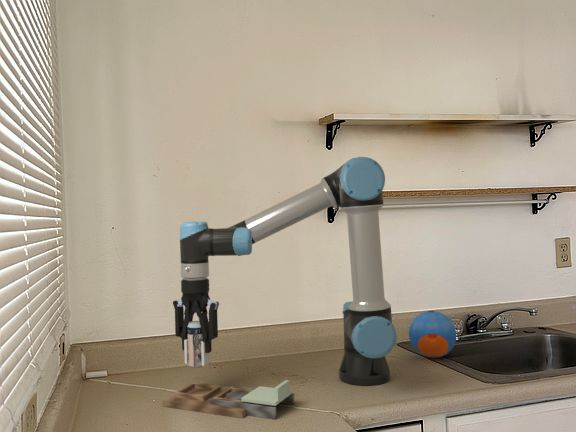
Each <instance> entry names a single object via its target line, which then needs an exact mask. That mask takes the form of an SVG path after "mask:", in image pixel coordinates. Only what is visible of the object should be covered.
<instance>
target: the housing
mask: <svg viewBox="0 0 576 432" xmlns="http://www.w3.org/2000/svg"><path fill="white" fill-rule="evenodd" d="M254 389H256V388H254V387H247V386H237V385H229V386H226V385H217V384H210V383H209V384H208V383H201V382H192V383H189V384H188V385H186V386H185V387H183V388H181V389H179V390H177V391H174V393H173V394H172V395H171V396H169V397H167V398H165V399H163V400H162V407H164V408H170V409H177V410H185V411H191V412H197V413H204V414H210V413H211V415H217V416H225V417H232V418H239V419H243V418H244V417H246V416H249V417H250V416H251V417H256V418H261V419H262V418H263V419H270V420H276V419H277V407H276V406H271V405H264V404H258V403H250V402H243V401H241V398H242V397H244V396H245V395H247V394H248V393H250V392H251V391H253V390H254ZM280 403H281V404H287V405H295V393H294V392H292V394H290V395H289V396H288V397H286V398H285V399H284V400H283V401H281V402H280ZM280 403H279V404H280Z"/></svg>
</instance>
